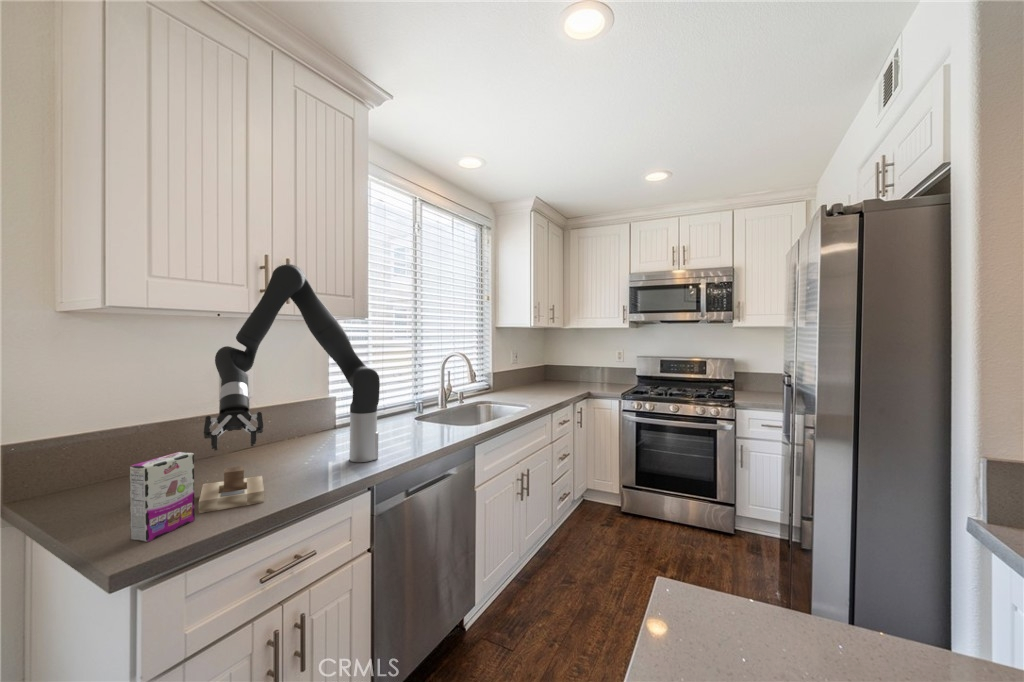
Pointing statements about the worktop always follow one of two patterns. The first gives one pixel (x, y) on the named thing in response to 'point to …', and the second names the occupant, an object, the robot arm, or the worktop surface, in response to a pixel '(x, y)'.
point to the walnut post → (233, 479)
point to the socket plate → (231, 495)
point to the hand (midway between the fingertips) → (234, 446)
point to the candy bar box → (161, 495)
